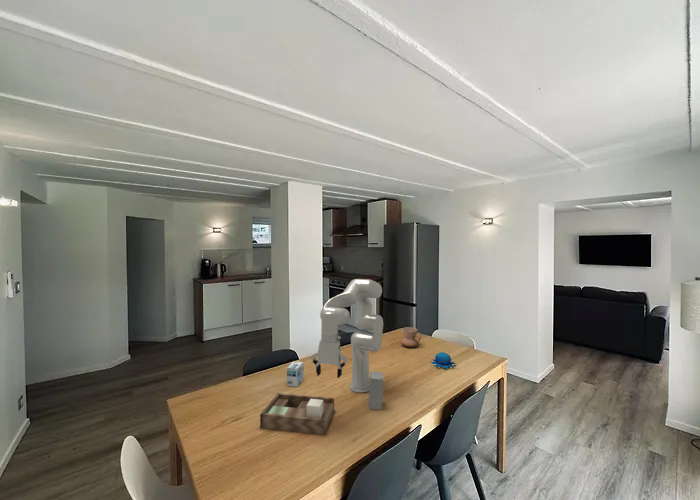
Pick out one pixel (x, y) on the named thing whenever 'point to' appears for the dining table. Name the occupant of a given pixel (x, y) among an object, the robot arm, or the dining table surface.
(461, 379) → the dining table surface
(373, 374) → the skincare box
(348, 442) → the dining table surface
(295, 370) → the light bulb box
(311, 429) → the box
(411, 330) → the ceramic jug
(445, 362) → the plush toy
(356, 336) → the robot arm
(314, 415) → the cream block
